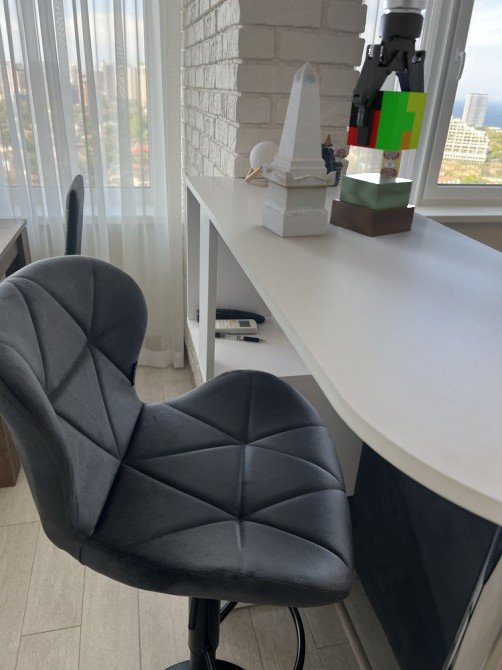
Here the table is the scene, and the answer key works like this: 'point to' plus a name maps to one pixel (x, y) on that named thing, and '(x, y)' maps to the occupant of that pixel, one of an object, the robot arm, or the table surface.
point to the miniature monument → (299, 166)
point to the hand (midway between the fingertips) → (382, 144)
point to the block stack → (373, 204)
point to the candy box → (390, 163)
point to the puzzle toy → (392, 121)
